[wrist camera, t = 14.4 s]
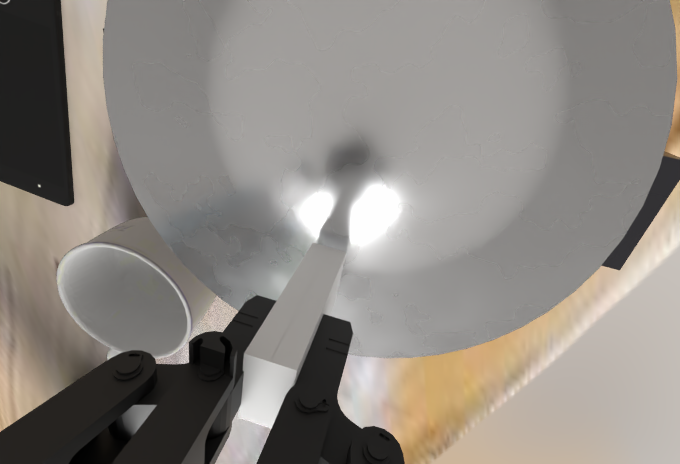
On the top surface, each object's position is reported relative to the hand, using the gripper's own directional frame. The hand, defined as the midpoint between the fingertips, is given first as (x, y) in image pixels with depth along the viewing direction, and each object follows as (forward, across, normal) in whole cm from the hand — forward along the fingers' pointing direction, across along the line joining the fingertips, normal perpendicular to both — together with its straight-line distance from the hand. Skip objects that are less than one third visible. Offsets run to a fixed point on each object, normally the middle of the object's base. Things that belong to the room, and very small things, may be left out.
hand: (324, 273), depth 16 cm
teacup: (+13, -16, -13) cm, 25 cm away
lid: (+1, 0, +6) cm, 7 cm away
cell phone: (+14, -30, 0) cm, 33 cm away
